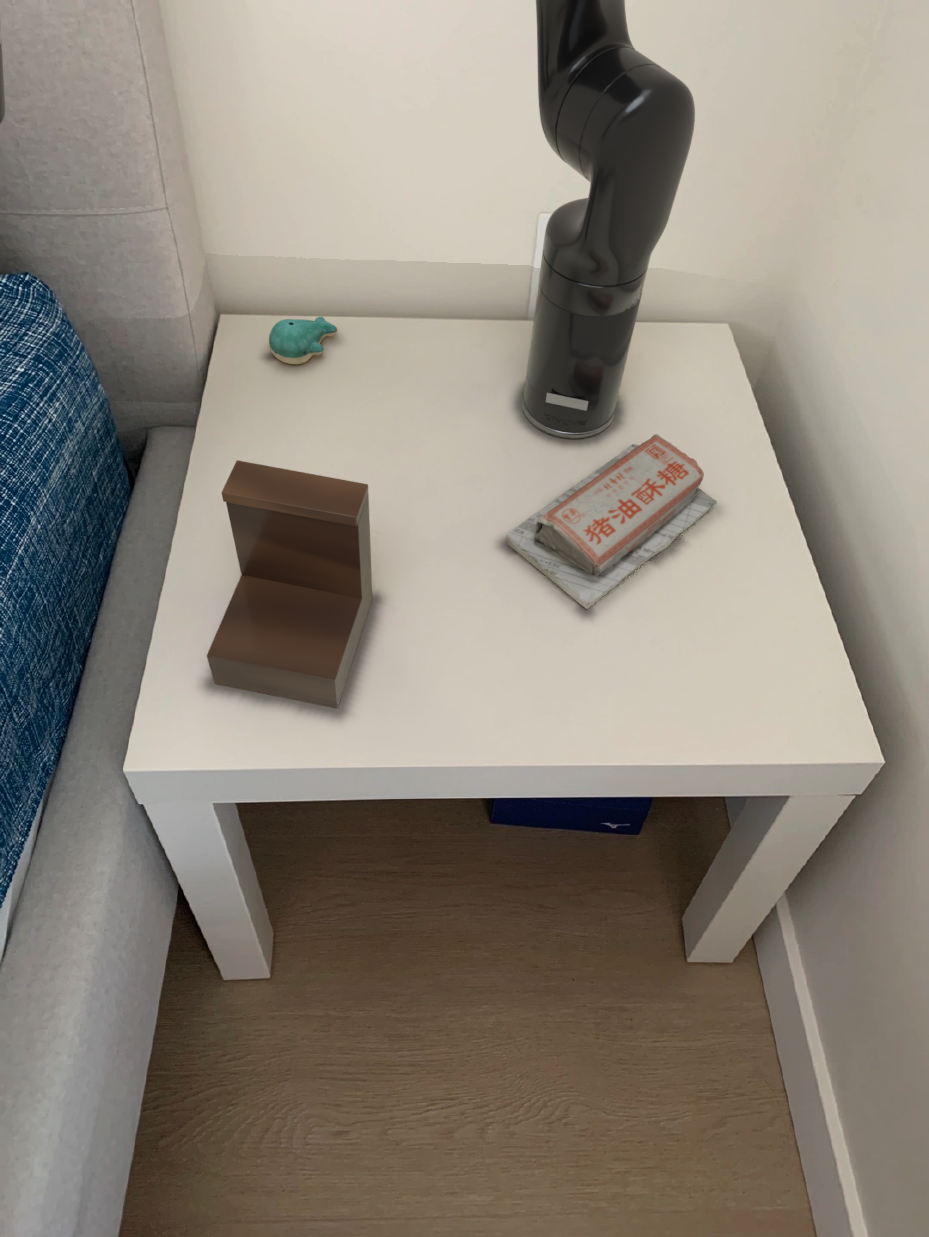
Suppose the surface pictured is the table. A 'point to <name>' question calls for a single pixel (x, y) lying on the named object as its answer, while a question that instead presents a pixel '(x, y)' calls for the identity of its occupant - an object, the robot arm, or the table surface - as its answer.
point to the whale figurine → (299, 339)
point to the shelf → (294, 583)
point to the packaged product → (614, 519)
